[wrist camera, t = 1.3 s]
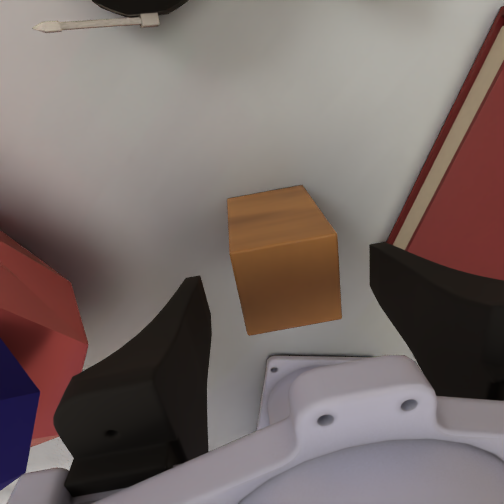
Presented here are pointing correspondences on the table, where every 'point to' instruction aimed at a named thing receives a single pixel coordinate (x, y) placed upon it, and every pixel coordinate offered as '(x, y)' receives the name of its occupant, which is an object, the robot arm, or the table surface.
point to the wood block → (283, 260)
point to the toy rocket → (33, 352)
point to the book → (464, 176)
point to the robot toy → (123, 3)
